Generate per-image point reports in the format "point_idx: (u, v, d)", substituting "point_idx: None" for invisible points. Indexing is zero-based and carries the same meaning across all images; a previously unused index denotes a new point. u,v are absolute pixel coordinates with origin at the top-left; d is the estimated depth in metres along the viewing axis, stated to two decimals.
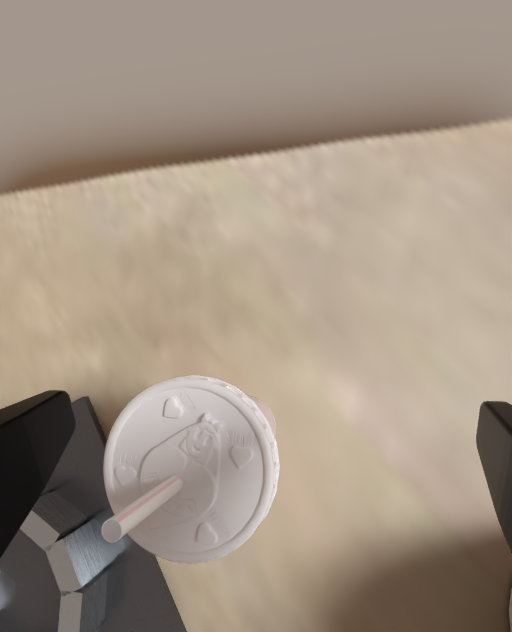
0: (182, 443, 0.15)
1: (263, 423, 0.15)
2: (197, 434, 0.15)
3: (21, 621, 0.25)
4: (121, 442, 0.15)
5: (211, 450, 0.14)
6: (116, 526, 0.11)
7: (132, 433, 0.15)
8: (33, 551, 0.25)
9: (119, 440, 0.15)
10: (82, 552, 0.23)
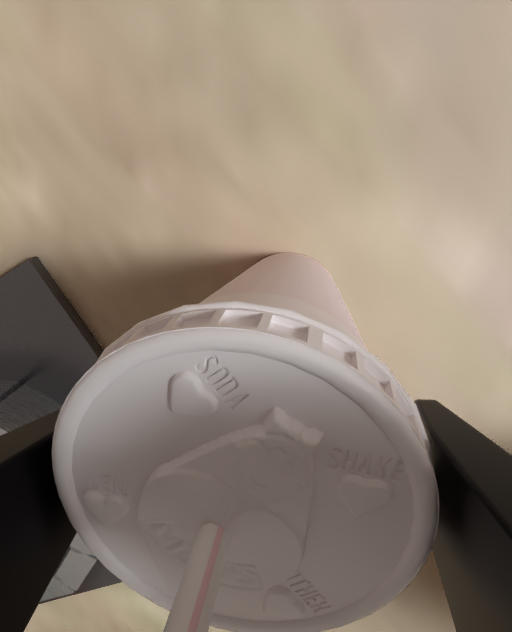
0: (223, 471, 0.06)
1: (407, 414, 0.06)
2: (259, 458, 0.06)
3: None
4: (83, 453, 0.07)
5: (293, 488, 0.06)
6: None
7: (104, 438, 0.07)
8: None
9: (78, 449, 0.07)
10: None
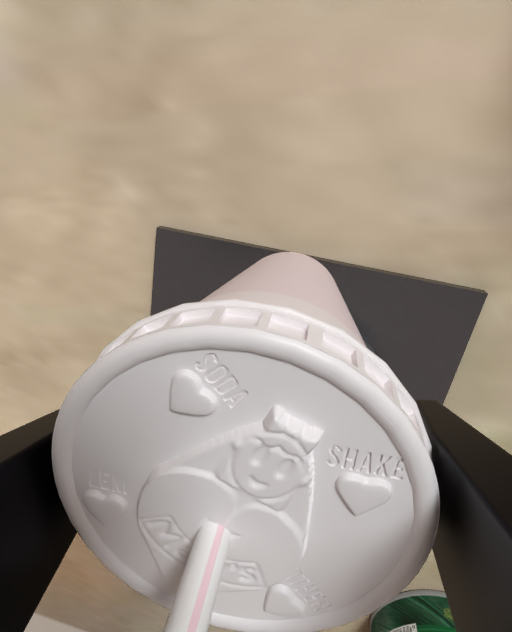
0: (223, 470, 0.06)
1: (407, 412, 0.06)
2: (258, 456, 0.06)
3: None
4: (83, 452, 0.07)
5: (293, 486, 0.06)
6: None
7: (103, 436, 0.07)
8: None
9: (78, 448, 0.07)
10: None
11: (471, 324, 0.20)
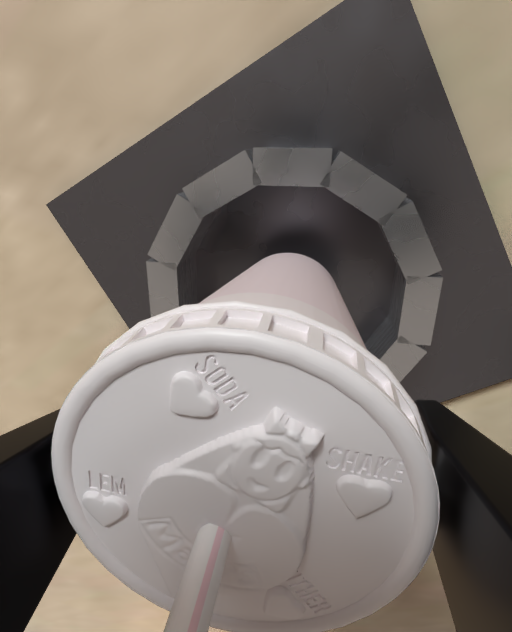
0: (223, 472, 0.06)
1: (407, 414, 0.06)
2: (259, 458, 0.06)
3: (343, 282, 0.18)
4: (83, 453, 0.07)
5: (293, 488, 0.06)
6: None
7: (103, 438, 0.07)
8: None
9: (78, 449, 0.07)
10: None
11: (411, 19, 0.14)
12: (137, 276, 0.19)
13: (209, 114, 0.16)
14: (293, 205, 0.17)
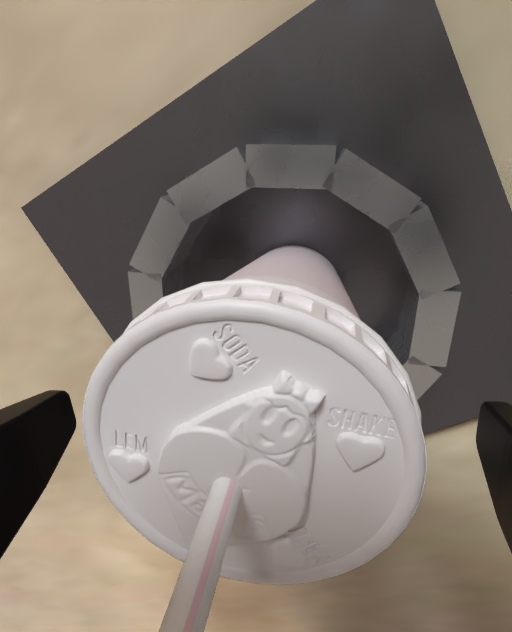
0: (236, 429, 0.07)
1: (400, 380, 0.07)
2: (268, 416, 0.07)
3: (347, 293, 0.16)
4: (111, 414, 0.08)
5: (298, 443, 0.07)
6: None
7: (130, 400, 0.08)
8: None
9: (106, 410, 0.08)
10: None
11: None
12: (121, 286, 0.18)
13: (198, 107, 0.14)
14: (292, 208, 0.15)
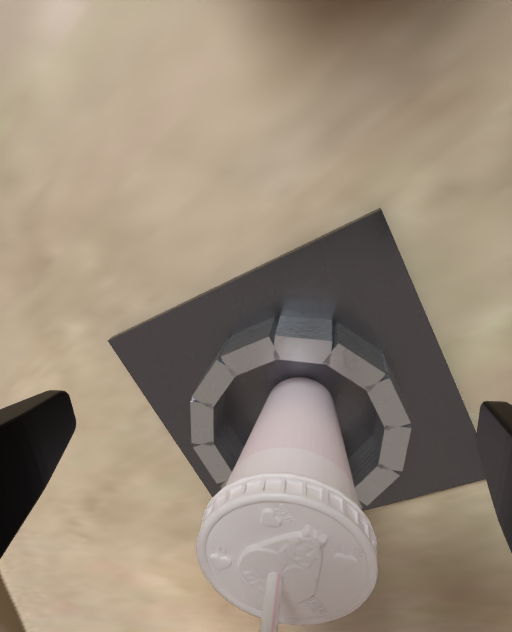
0: (282, 550, 0.14)
1: (365, 525, 0.14)
2: (299, 546, 0.14)
3: (338, 409, 0.23)
4: (214, 537, 0.15)
5: (314, 558, 0.14)
6: None
7: (225, 531, 0.14)
8: (267, 396, 0.23)
9: (212, 536, 0.15)
10: (245, 338, 0.21)
11: (391, 243, 0.19)
12: (177, 395, 0.24)
13: (240, 290, 0.21)
14: None
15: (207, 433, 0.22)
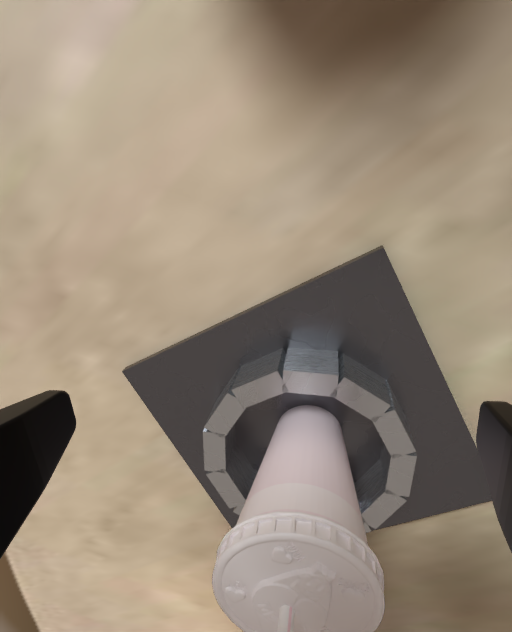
0: (294, 585, 0.15)
1: (372, 560, 0.15)
2: (309, 582, 0.15)
3: (346, 435, 0.24)
4: (229, 572, 0.15)
5: (323, 593, 0.15)
6: None
7: (239, 567, 0.15)
8: (277, 422, 0.24)
9: (226, 571, 0.15)
10: (255, 371, 0.21)
11: (394, 279, 0.20)
12: (189, 422, 0.25)
13: (248, 324, 0.22)
14: None
15: (219, 461, 0.23)
